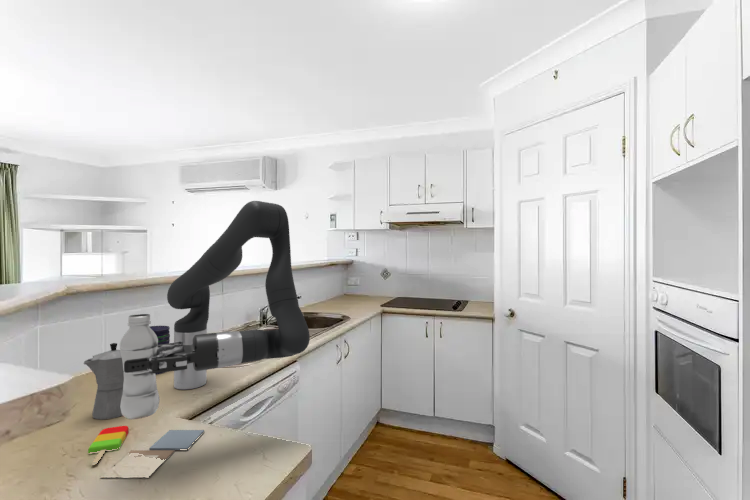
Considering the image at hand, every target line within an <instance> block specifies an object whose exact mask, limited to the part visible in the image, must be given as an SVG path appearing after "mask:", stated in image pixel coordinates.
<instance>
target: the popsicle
mask: <svg viewBox="0 0 750 500" xmlns="http://www.w3.org/2000/svg"><path fill="white" fill-rule="evenodd" d="M129 430H130V429H129V426H128V425H120V426H113V427H112V426H111V427H106V428H104V429H102V430H101V431H100V432H99V433H98V435H97V436H96V437H95V439H94V440H93V441H92V443H91V444H90V445H89V446H88V451H87V453H90V452H97V451H100V452H99V453H98V454H97V455H96V456H95V458H94V460H93V461H92V463H93V462H97V463H98V461H99V460H100V459H101V460H102V458H103V456H104V455H105V453H106V452H105V451H106V450H112V449H117V448H118V449H119V447H120V446H121V447H122V445H123V444H122V443H124V442H123V441H125V439H126V438H127V436H128V435H129V432H130V431H129ZM121 444H122V445H121ZM121 447H120V448H121ZM119 450H120V449H119ZM103 454H104V455H103ZM101 457H102V458H101ZM101 460H100V461H101ZM100 461H99V462H100ZM98 464H99V463H98Z"/></svg>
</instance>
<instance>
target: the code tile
mask: <svg viewBox="0 0 750 500" xmlns="http://www.w3.org/2000/svg"><path fill="white" fill-rule="evenodd" d="M173 452H174V453H175V451H174V450H149V449H147V450H143V449H142V450H140V449H139V450H134V449H133V450H132V449H131V450H130V451H128V453H139V454H143V455H144V456H145V457H149V458H153V457H155V458H156V459H157V458H160V459H161V460H163V459H164V460H165V459H167V458H168V457H169V456H170V455H171V454H172V453H173ZM174 453H173V454H174ZM173 454H172V455H173ZM172 455H171V456H172ZM141 456H142V455H138V456H134V457H135V458H136V457H141ZM171 456H170V457H171ZM170 457H169V458H170ZM169 458H168V459H169ZM168 459H167V460H168Z"/></svg>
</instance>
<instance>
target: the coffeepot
mask: <svg viewBox="0 0 750 500" xmlns="http://www.w3.org/2000/svg"><path fill="white" fill-rule="evenodd" d="M109 345H110V350H107V351H104V352H101V353H98V354H94V355H92V357H91V358H88V359H86V360H85V361H84V362H83V365H86V366H87V367H88V368H89V369H90V371H92V373H93V374H94V377H95V381H96V384H97V387H96V388H97V389H96V394H95V399H94V404H93V410H92V419H95V420H110V419H115V418H119V417H124V416H123V415H122V413H121V408H120V405H121V398H122V395H123V383H124V371H123V362H122V356H121V351H120V350H121V349H117V347H118V343H117V342H113V343H110V344H109Z"/></svg>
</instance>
